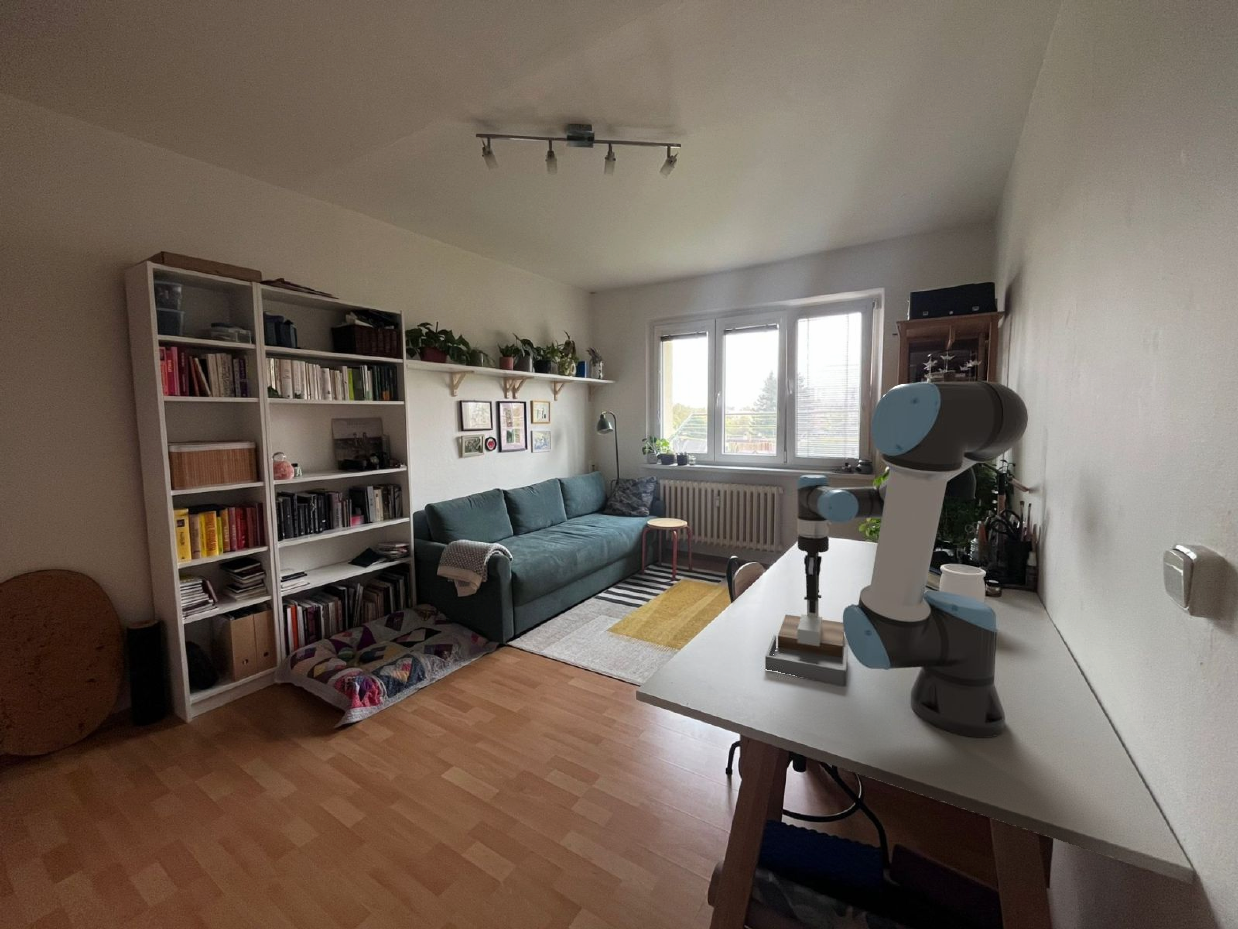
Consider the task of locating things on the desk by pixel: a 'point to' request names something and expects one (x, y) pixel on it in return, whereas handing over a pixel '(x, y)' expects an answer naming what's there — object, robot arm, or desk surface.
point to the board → (828, 645)
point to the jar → (963, 581)
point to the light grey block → (809, 633)
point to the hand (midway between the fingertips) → (812, 623)
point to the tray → (807, 664)
